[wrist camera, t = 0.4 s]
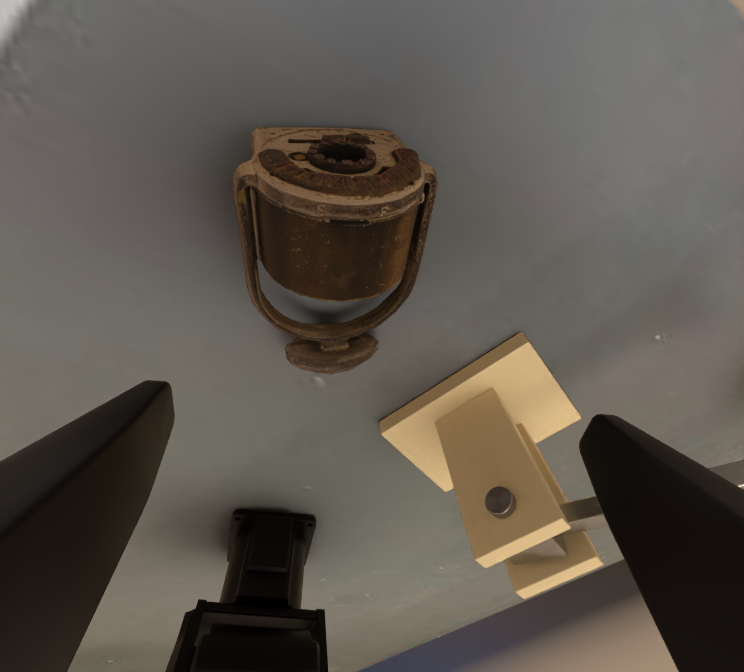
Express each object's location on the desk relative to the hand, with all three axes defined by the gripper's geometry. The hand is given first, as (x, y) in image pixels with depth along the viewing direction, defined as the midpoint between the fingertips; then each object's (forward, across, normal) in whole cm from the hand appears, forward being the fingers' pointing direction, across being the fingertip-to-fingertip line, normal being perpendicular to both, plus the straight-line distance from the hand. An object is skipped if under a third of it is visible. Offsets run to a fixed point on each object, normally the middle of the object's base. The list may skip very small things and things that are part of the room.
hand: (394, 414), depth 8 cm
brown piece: (+14, +2, +1) cm, 14 cm away
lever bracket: (+14, -10, +12) cm, 21 cm away
